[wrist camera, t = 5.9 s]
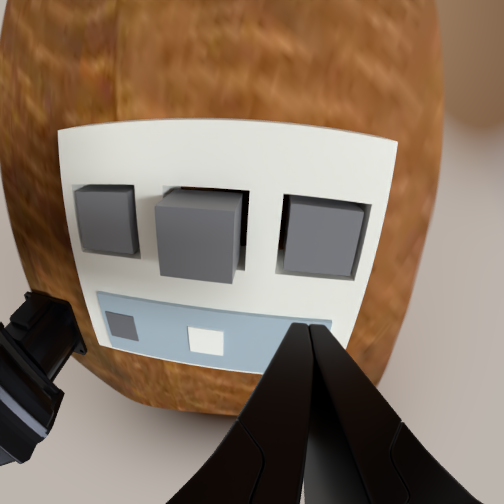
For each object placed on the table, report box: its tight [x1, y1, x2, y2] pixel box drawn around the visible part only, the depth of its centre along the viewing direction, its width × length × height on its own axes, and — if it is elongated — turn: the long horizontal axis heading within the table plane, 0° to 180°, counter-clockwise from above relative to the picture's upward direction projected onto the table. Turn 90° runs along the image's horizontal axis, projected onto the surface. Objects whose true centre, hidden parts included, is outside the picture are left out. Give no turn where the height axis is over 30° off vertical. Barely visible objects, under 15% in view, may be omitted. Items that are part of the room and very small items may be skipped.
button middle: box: [154, 189, 243, 284], centre depth 14 cm, size 4×4×3 cm
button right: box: [283, 194, 364, 276], centre depth 16 cm, size 4×4×3 cm
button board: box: [58, 118, 398, 374], centre depth 17 cm, size 16×18×3 cm
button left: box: [75, 184, 140, 254], centre depth 16 cm, size 4×4×3 cm
